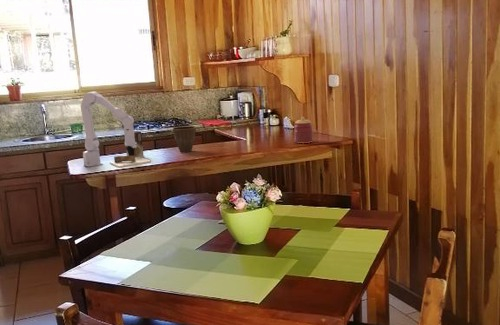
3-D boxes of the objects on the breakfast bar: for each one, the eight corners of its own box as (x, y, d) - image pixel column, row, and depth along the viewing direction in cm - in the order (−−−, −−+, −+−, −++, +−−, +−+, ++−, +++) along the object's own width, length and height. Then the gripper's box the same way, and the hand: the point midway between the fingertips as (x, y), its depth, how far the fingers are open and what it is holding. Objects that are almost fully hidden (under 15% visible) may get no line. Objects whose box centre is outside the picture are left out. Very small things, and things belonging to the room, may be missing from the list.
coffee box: (137, 155, 338) (135, 130, 335) (143, 155, 334) (141, 131, 331) (126, 157, 331) (123, 132, 328) (132, 158, 327) (130, 133, 324)
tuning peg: (113, 162, 311) (112, 156, 310) (116, 160, 315) (116, 155, 314) (133, 162, 308) (133, 156, 307) (136, 160, 312) (136, 155, 311)
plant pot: (201, 150, 341) (199, 126, 338) (182, 154, 332) (180, 129, 329) (188, 148, 353) (187, 125, 349) (170, 152, 343) (168, 128, 340)
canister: (313, 140, 359) (312, 115, 355) (313, 143, 346) (312, 117, 342) (294, 141, 360) (293, 116, 356) (294, 144, 347) (293, 118, 344)
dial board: (118, 167, 301) (118, 165, 300) (110, 163, 314) (109, 161, 314) (150, 162, 311) (150, 160, 311) (141, 158, 324) (140, 156, 324)
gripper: (140, 136, 306) (142, 159, 308) (131, 134, 318) (133, 155, 320) (128, 138, 302) (131, 160, 305) (120, 135, 314) (122, 157, 317)
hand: (131, 158), depth 312 cm, fingers closed, pressing on tuning peg
